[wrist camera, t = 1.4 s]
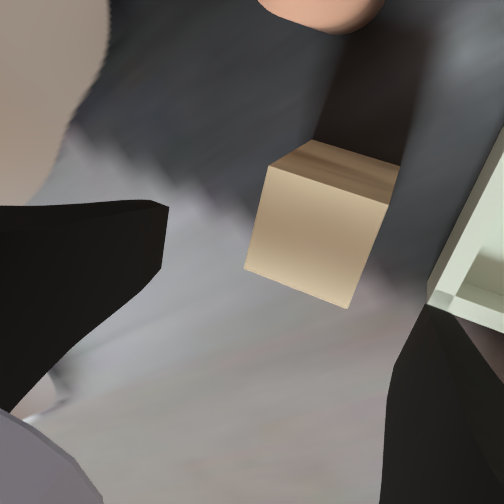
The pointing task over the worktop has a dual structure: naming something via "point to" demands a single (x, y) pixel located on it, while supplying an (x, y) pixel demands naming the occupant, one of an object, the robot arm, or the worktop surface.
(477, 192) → the tray
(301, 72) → the worktop surface
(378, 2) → the terracotta cylinder
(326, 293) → the beech block
